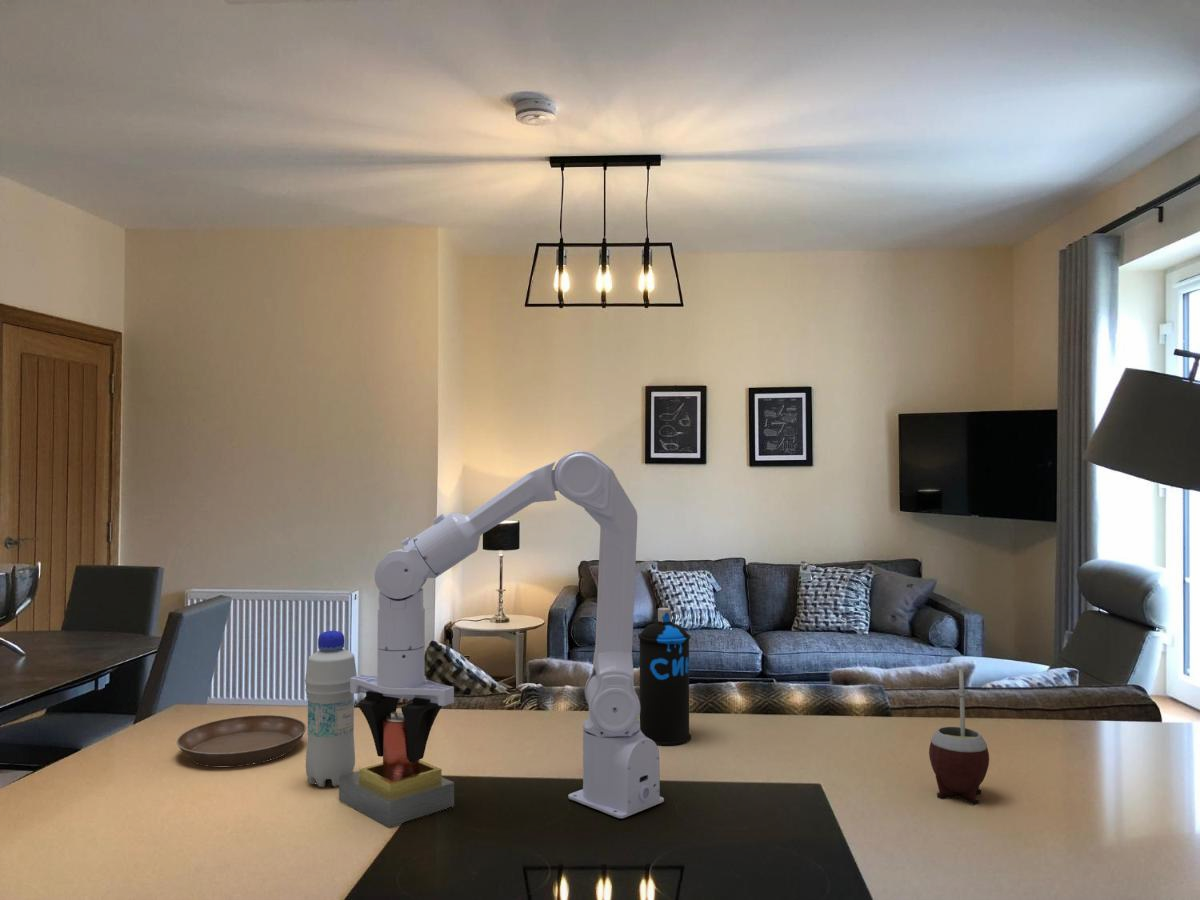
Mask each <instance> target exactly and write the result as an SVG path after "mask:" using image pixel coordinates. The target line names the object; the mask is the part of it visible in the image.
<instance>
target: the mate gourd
mask: <svg viewBox="0 0 1200 900" xmlns="http://www.w3.org/2000/svg"><path fill="white" fill-rule="evenodd" d="M964 678H965V677H964V669H963V668H958V680H959V681H958V682H959V688H958V697H959V715H960V716H959V718H960V719H959V723H960V724H959V725H960V726H959V727H958V726H945V727H944V726H943V727H940V728H938V729H936V731H935V732H934V733H933V736H932V737H931V739H930V745H929V749H928V756H929V762H930V764H931V765H930V766H931V768H932V771H933V773H934V775H935V779H936V784H937V787H938V792H936V796H937V798H938V799H939V800H944V799H952V798H959V799H962V800H963V801H965V802H966V803H969V804H970V805H973V806H975V805H978V804H979V803H978V802H979V800H978V799H976V796H977V795H978V796H979V795H982V789H980V785H981V784H982V783H983V781H984V779H985V778H986V776H987V772H988V769H989V765H990V754H989V750H988V749H989V748H988V744H987V743H986V740H985V739H984V737H983V736H982V734H980V733H979V732H978V731H976V730H973V729H972V728H971V729H970V728H967V727H966V715H965V714H966V711H965V706H966V705H965V698H966V689H965V679H964Z"/></svg>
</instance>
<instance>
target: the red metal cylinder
mask: <svg viewBox="0 0 1200 900" xmlns="http://www.w3.org/2000/svg"><path fill="white" fill-rule="evenodd" d="M382 763H383V777H384V778H386V779H388V780H390V781H395V780H399V779H402V778H406V777H409V776H412V775H416V774H419V760H418V761H416V762H409V759H408V747H407V730H406V724H405V720H404V716H403V713H402V712H398V711H396V712H390V715H388V716H387V717H386V718H384V719H383V756H382Z"/></svg>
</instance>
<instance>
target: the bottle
mask: <svg viewBox="0 0 1200 900" xmlns="http://www.w3.org/2000/svg"><path fill="white" fill-rule="evenodd" d="M317 649H318V650H317V651H316V652H314V653H311V654H310V655H309V656H308V659H307V665H306V671H305V679H304V682H305V683H304V684H305V692H306V695H307V742H306V751H305V754H306V755H305V773H306V778H307V781H308V782H309V784H311V785H313V784H315V783H317V784H316V785H318V787H319V788H325V787H326V781H327V780H331V785H332V787H337V786H339V776H342V775H346V774H349V773H353V772H354V768H355V766H356V765H355V764H356V750H355V737H354V735H355V732H354V731H355V730H354V729H355V723H354V722H355V719H354V718H355V694H354V693H350V678H352V677H355V676H358V674H357V667H356V660H355V659H356V658H355V655H354V653H353V652H351V651H349V650H347V649H345V635H344V633H343V632H342V631H338V630H327V631H323V632H322V633H320V634H319V635H318V639H317Z"/></svg>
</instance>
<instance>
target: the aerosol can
mask: <svg viewBox="0 0 1200 900" xmlns="http://www.w3.org/2000/svg"><path fill="white" fill-rule="evenodd" d="M691 637H692V636H691V635H690V634H689V633H688V632H687V630H686V629H685V628H684V627H683V626H681V625H679V624H677V623H674V622H672V621H671V608H669V607H659V608H657V621H656V622H654V623H652V624H648V625H647V626H646V627H645V628H643V629H642V630H641V632H640V633H639V634H638V635H637V638H638V639H639V702H640V715H639V723H640V730H641V731H642V733H643V734H644V735H645V736H646V737H647V738H649V739H651V740H653V741H654V742H655V743H656V745H657V746H663V747H665V746H666V747H668V746H669V747H671V746H678V745H683V744H686V743H688V742H689V741H690V740H691V738H692V736H691V733H690V640H691Z"/></svg>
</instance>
